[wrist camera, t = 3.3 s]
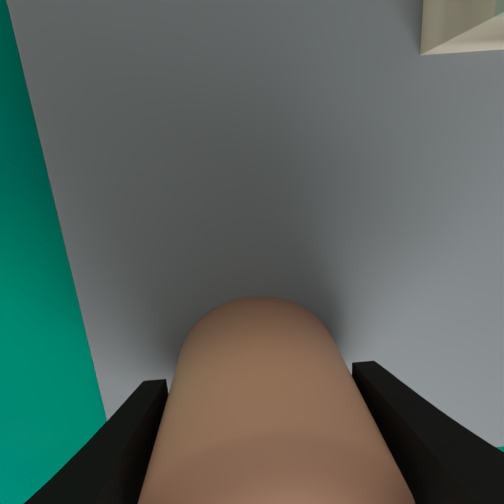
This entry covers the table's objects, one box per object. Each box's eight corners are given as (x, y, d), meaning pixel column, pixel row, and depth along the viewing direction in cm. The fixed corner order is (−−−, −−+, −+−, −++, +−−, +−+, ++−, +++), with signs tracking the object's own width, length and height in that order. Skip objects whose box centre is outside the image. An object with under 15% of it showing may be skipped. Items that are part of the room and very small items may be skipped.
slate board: (815, -356, 7) (903, -434, 6) (602, 413, 13) (631, 434, 12) (-42, -314, 7) (-87, -389, 6) (130, 456, 13) (121, 481, 12)
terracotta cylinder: (337, 289, 10) (431, 418, 5) (337, 426, 11) (410, 626, 7) (167, 303, 10) (102, 447, 5) (189, 440, 11) (153, 652, 7)
